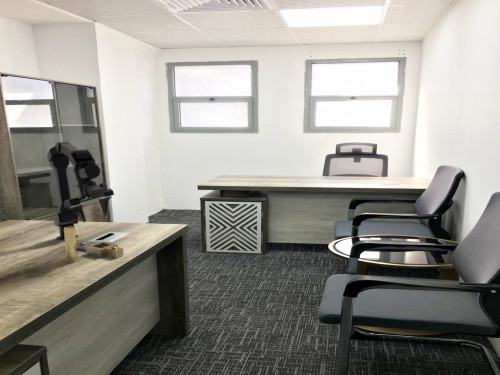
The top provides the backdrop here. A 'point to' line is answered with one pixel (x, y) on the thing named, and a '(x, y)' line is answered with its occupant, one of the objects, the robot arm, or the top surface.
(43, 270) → the top surface
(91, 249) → the square frame with handle
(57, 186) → the robot arm
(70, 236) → the brass pin
